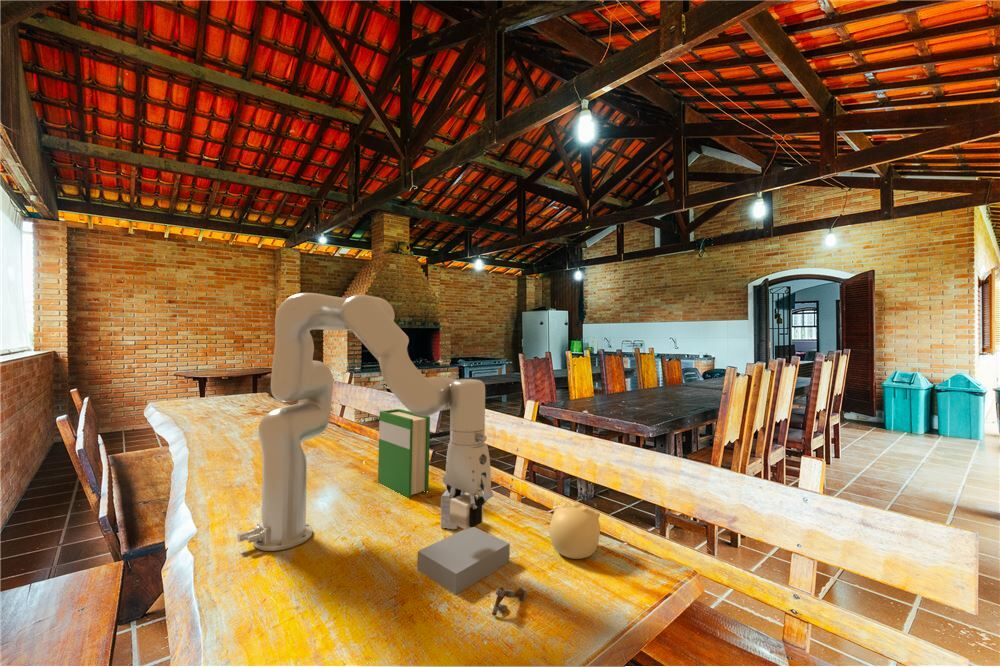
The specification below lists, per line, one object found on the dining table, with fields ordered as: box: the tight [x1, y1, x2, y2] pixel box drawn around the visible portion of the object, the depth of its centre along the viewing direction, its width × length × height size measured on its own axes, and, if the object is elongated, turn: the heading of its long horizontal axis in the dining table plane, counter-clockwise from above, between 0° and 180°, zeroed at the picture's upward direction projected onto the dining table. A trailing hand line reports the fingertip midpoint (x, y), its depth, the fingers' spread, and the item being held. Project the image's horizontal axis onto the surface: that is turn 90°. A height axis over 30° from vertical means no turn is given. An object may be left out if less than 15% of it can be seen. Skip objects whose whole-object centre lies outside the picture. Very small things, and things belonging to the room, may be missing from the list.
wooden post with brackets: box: [491, 586, 528, 617], centre depth 75 cm, size 2×8×4 cm, turn 136°
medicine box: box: [440, 489, 467, 530], centre depth 109 cm, size 8×4×9 cm, turn 168°
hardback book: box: [377, 408, 431, 499], centre depth 133 cm, size 18×7×24 cm, turn 47°
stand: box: [416, 526, 511, 595], centre depth 89 cm, size 16×12×4 cm
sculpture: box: [549, 501, 601, 560], centre depth 96 cm, size 12×12×11 cm
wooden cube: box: [450, 492, 484, 530], centre depth 89 cm, size 5×5×5 cm
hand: (466, 519), depth 89 cm, fingers closed on wooden cube, 5 cm apart
